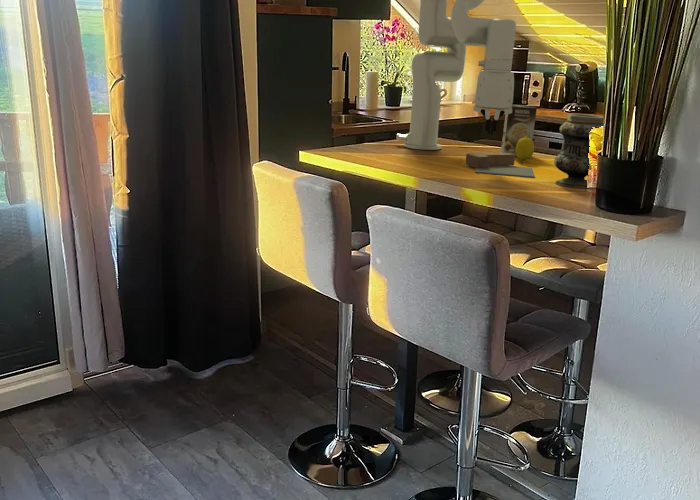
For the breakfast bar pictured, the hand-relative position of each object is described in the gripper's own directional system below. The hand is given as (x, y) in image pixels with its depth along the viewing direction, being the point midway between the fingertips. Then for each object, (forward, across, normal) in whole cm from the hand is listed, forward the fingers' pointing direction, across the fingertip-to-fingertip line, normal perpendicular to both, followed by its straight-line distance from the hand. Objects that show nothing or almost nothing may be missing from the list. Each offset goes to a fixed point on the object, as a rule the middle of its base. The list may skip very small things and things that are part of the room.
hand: (490, 133), depth 192 cm
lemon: (+10, +11, +21) cm, 26 cm away
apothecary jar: (+10, +23, -14) cm, 29 cm away
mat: (+10, +5, 0) cm, 11 cm away
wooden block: (+8, -4, 0) cm, 9 cm away
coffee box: (+10, +9, +36) cm, 39 cm away
